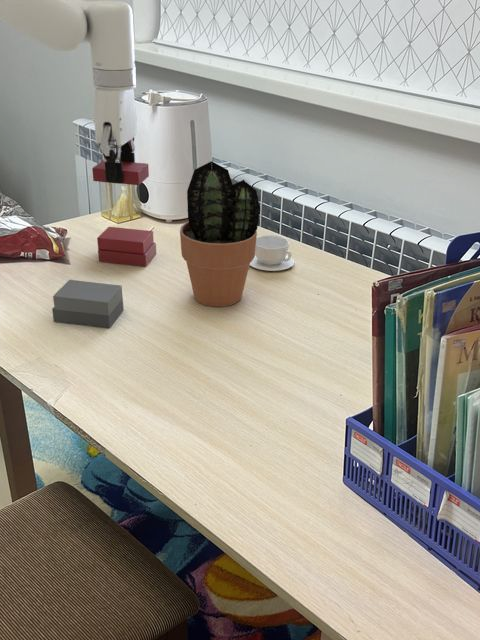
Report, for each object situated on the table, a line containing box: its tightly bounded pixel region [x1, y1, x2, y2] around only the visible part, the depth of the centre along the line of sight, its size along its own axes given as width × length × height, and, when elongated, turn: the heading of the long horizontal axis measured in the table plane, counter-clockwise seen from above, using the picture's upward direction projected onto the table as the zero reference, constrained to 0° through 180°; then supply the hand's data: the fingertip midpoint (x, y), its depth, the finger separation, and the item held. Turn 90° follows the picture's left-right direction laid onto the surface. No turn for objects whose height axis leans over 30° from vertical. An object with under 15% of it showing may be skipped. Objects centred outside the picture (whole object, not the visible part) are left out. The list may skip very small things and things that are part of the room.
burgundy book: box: [91, 159, 150, 186], centre depth 132 cm, size 9×6×2 cm, turn 80°
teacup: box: [249, 234, 295, 272], centre depth 142 cm, size 10×10×5 cm
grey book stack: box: [51, 279, 124, 329], centre depth 119 cm, size 10×7×5 cm
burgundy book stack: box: [96, 226, 157, 268], centre depth 142 cm, size 10×7×5 cm
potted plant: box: [179, 160, 261, 307], centre depth 123 cm, size 14×14×25 cm
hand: (121, 176), depth 133 cm, fingers closed on burgundy book, 6 cm apart
